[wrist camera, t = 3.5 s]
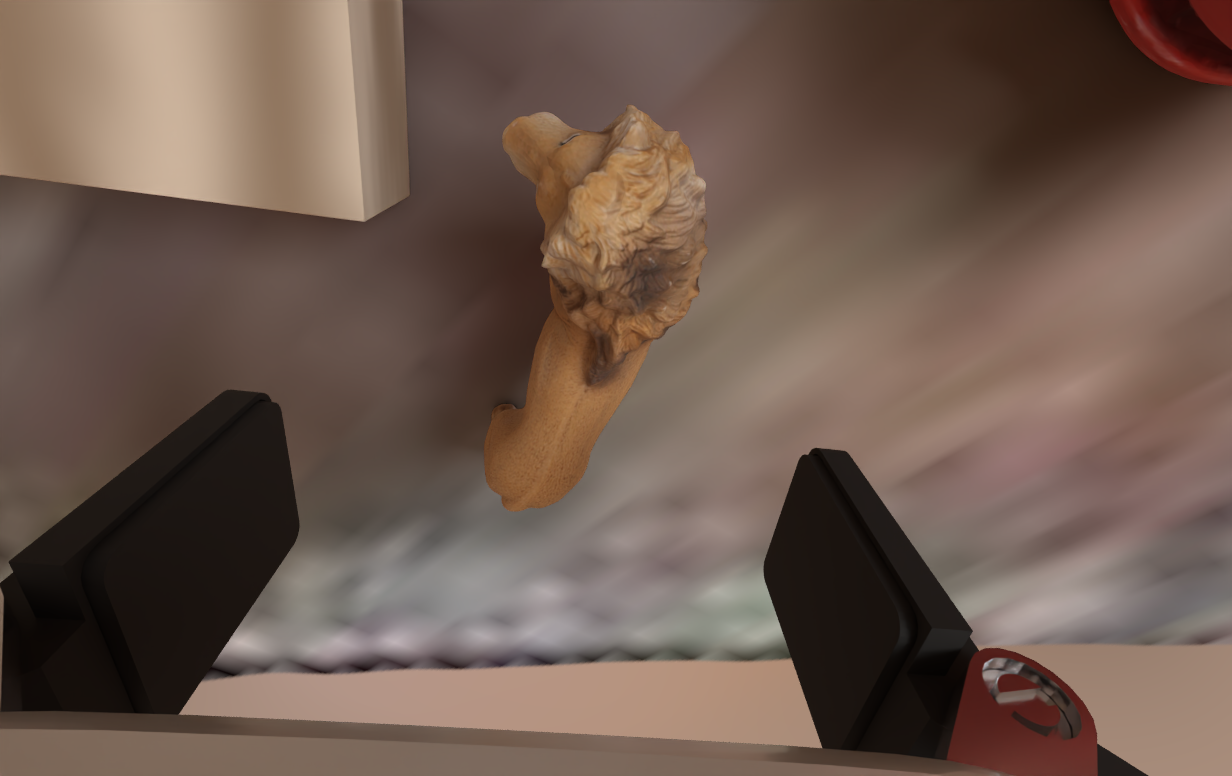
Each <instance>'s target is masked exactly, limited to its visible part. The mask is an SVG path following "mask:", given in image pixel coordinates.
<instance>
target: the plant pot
mask: <svg viewBox="0 0 1232 776" xmlns="http://www.w3.org/2000/svg"><path fill="white" fill-rule="evenodd" d="M1109 1H1110V4H1111V7H1112V9H1113V11H1114V14H1115V16H1116V18H1117V20H1118V21H1119V23H1120V24H1121V26H1122V28H1123V30H1124V31H1125V33H1126V34H1127V36H1128V37H1129V38H1130V40H1131V41H1132V42H1133V44H1134V45H1135V46H1136V47H1137V48H1138V49H1139V50H1140V51H1142V52H1143V53H1144V54H1145V55H1146V56H1147V57H1148V58H1150V59H1151V60H1152V61H1154V62H1155V63H1156V64H1158V65H1159V66H1161V67H1163V68H1165V69H1166V70H1168V71H1170V72H1173V73H1175V74H1177V75H1180V76H1182V77H1185V78H1188V79H1192V80H1196V81H1200V82H1204V83H1211V84H1219V85H1228V86H1232V0H1109Z"/></svg>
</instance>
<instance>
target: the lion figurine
mask: <svg viewBox="0 0 1232 776" xmlns="http://www.w3.org/2000/svg"><path fill="white" fill-rule="evenodd" d="M502 142H503V147H504V150H505V152H506V153H507V154H508V155H509V156H510V158H511V161H512V163H513V165H514V166H515V168H516V169H517V170H518V172H520V173H521V174H522V175H524V176H525V177H526V178H528V179H529V180H531V181H532V182H533V183H534V184H535V185H536V205H537V209H538V211H539V212H540V214H541V216H542V218H543V220H544V222H545V226H546V227H545V233H544V241H543V242H542V244H541V246H540V250H541V252H542V253H543V254H544V259H543V262H542V267H544V268H547V270H548V273H549V275H550V277H549V278H550V290H551V297H552V301H553V304H554V309H553V310H552V312H551V313H550V315H549V316H548V318H547V320H546V322H545V324H544V327H543V329H542V332H541V334H540V337H539V339H538V342H537V345H536V347H535V352H534V357H533V362H532V367H531V372H530V377H529V383H528V388H527V397H526V404H525V406H524V408H522V409H516V408H515V406H514V405H512V404H501V405H499V406H497V407H495V408H494V409H493V411H492V414H491V424H490V427H489V429H488V432H487V435H486V439H485V444H484V465H485V475H486V481H487V483H488V485H489V487H490V488H491V489H492V490H493V491H494V492H496V493H498V494H499V495H501V496H502V504H503V506H504V507H505V508H506V509H507V510H509V511H521V510H524V509H527V508H531V507H532V508H543V507H546V506H548V505H551V504H553V503H555V502H557V501H559V500H560V499H562V498H563V497H564V496H565V495H566V494H567V493H568V492H569V491H570V490H571V489H572V488H573V487H574V486H575V485H576V484H577V483H578V482H579V481H580V479H581V478H582V476H583V475H584V472H585V470H586V468H587V465H588V461H589V457H590V453H591V450H592V448H593V446H594V444H595V442H596V440H597V438H598V437H599V435H600V433H601V432H602V430H603V428H604V427H605V425H606V424H607V422H608V421H609V419H610V418H611V416H612V415H613V413H614V412H615V410H616V409H617V407H618V406H619V404H620V402H621V401H622V399H623V398H624V396H625V395H626V393H627V392H628V390H629V389H630V387H631V385H632V384H633V381H634V379H635V377H636V375H637V373H638V371H639V369H640V367H641V365H642V363H643V361H644V359H645V357H646V354H647V352H648V349H649V346H650V343H651V342H652V341H653V340H654V339H659V338H661V337H662V336H663V335H664V334H665V332H666V331H667V330H668V328H669V327H671V326H673V325H675V324H676V323H677V322H678V321H680V320H681V319H682V318H683V317H684V316H685V315H686V313H687V311H688V309H689V307H690V304H691V301H692V299H693V298H695V297H697V296H698V294H699V292H700V291H699V287H698V277H699V274H700V272H701V266H702V260H703V259H704V257H705V255H706V254H707V251H708V249H707V247H706V245H705V244H704V235H705V231H706V229H707V222H706V221H705V220H704V219H703V218H704V217H705V215H706V206H705V201H704V194H705V189H706V183H705V182H704V180H703V179H701V178H700V177H698V176H697V175H696V173H695V169H694V162H693V160H692V157H691V155H690V151H689V148H688V147H687V146H686V145H685V144H683V143H682V141H681V139H680V136H679V132H678V131H664V130H663V129H662V128H661V127H660V126H659V125H657V124H656V123H655V122H653V121H652V120H651V119H650V117H649V116H648V115H647V114H645V113H643V112H642V111H639V110H638V109H637V108H636V107H635V106H633V105H627V108H626V111H625V112H624V113H623V114H621V115H620V116H618V117H617V118H616V119H615V120H614V121H613V122H612V123H611V124H610V125H609V126H607V127H606V128H605V129H604V130H603V131H602V132H589V131H583V130H578V129H574V128H571V127H569V126H567V125H566V124H565V123H563V122H562V121H561V120H560V119H559V118H558V117H556V116H555V115H553V114H552V113H548V112H540V113H535V114H532V115H530V116H522V117H518V118H516V119H515V120H514V121H512V122H511V123H510V124H509V125H508V126H507V128H506V129H505V131H504V133H503V139H502Z"/></svg>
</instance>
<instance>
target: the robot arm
mask: <svg viewBox="0 0 1232 776" xmlns="http://www.w3.org/2000/svg"><path fill="white" fill-rule="evenodd" d="M298 532H299V517H298V511H297V505H296V499H295V492H294V486H293V480H292V474H291V467H290V461H289V455H288V449H287V443H286V436H285V430H284V424H283V418H282V412H281V408H280V406H279V404H277V403H275V402H271V399H270V397H269V396H268V395H267V394H265V393H258V392H248V391H238V390H226V391H225V392H223V393H221V394H220V395H219V396H218V397H216V398H215V399H214V400H212V401H211V402H210V403H209V404H207V405H206V406H205V407H204V408H202V409H201V410H200V411H199V412H197V413H196V414H195V415H193V416H192V417H191V418H190V419H188V420H187V421H186V422H185V423H183V424H182V425H181V426H180V427H178V428H177V429H176V430H175V431H173V432H172V433H171V434H169V435H168V436H167V437H166V438H164V439H163V440H162V441H161V442H159V443H158V444H157V445H156V446H154V447H153V448H152V449H150V450H149V451H148V452H147V453H145V454H144V455H143V456H142V457H140V458H139V459H138V460H137V461H135V462H134V463H133V464H131V465H130V466H129V467H128V468H126V469H125V470H124V471H123V472H121V473H120V474H119V475H118V476H116V477H115V478H114V479H113V480H111V481H110V482H109V483H107V484H106V485H105V486H104V487H102V488H101V489H100V490H99V491H97V492H96V493H95V494H94V495H92V496H91V497H90V498H88V499H87V500H86V501H85V502H83V503H82V504H81V505H80V506H78V507H77V508H76V509H75V510H73V511H72V512H71V513H69V514H68V515H67V516H66V517H64V518H63V519H62V520H61V521H59V522H58V523H57V524H56V525H54V526H53V527H52V528H51V529H49V530H48V531H47V532H45V533H44V534H43V535H42V536H40V537H39V538H38V539H37V540H35V541H34V542H33V543H32V544H30V545H29V546H28V547H26V548H25V549H24V550H23V551H21V552H20V553H19V554H18V555H16V556H15V557H14V558H13V559H11V560H10V561H9V564H10V566H11V568H12V570H13V573H12V574H11V575H9V576H8V577H7V578H6V579H5V580H3V581H2V582H1V583H0V776H1148V775H1146V774H1145V773H1143V772H1142V771H1140V770H1138V769H1137V768H1135V767H1134V766H1132V765H1130V764H1129V763H1127V762H1126V761H1124V760H1123V759H1121V758H1119V757H1118V756H1116V755H1115V754H1113V753H1111V752H1110V751H1108V750H1107V749H1105V748H1103V747H1102V746H1100V745H1099V744H1097V732H1096V728H1095V724H1094V720H1093V718H1092V716H1091V714H1090V713H1089V711H1088V709H1087V707H1086V706H1085V704H1084V703H1083V701H1082V700H1081V699H1080V698H1079V697H1078V696H1077V695H1076V693H1075V692H1074V691H1073V690H1072V689H1071V688H1070V687H1069V686H1068V685H1067V684H1066V683H1065V682H1063V681H1062V680H1061V679H1060V678H1059V677H1058V676H1056V675H1055V674H1054V673H1053V672H1051V671H1050V670H1048V669H1047V668H1045V667H1043V666H1042V665H1040V664H1039V663H1037V662H1035V661H1034V660H1032V659H1029V658H1027V657H1025V656H1023V655H1021V654H1018V653H1016V652H1012V651H1008V650H1004V649H1000V648H985V649H983V650H981V651H979V650H978V649H977V647H976V646H975V644H974V643H973V641H972V640H971V638H970V635H971V633H972V632H973V631H972V629H971V628H970V626H969V625H968V623H967V622H966V621H965V619H964V618H963V616H962V615H961V613H960V612H959V611H958V609H957V608H956V606H955V605H954V603H953V602H952V601H951V599H950V598H949V596H948V595H947V593H946V592H945V591H944V589H943V588H942V586H941V585H940V583H939V582H938V581H937V579H936V578H935V576H934V575H933V573H932V572H931V571H930V569H929V568H928V566H927V565H926V563H925V562H924V561H923V559H922V558H921V556H920V555H919V553H918V552H917V551H916V549H915V548H914V546H913V545H912V543H911V542H910V541H909V539H908V538H907V536H906V535H905V533H904V532H903V531H902V529H901V528H900V526H899V525H898V523H897V522H896V521H895V519H894V518H893V516H892V515H891V513H890V512H889V511H888V509H887V508H886V506H885V505H884V503H883V502H882V501H881V499H880V498H879V496H878V495H877V493H876V492H875V491H874V489H873V488H872V486H871V485H870V483H869V482H868V481H867V479H866V478H865V476H864V475H863V473H862V472H861V471H860V469H859V468H858V466H857V465H856V463H855V462H854V461H853V459H852V458H851V456H850V455H849V454H848V453H847V452H846V451H841V450H831V449H821V448H814V449H812V450H811V451H810V453H809V455H802V456H801V457H800V459H799V461H798V464H797V467H796V470H795V473H794V476H793V479H792V482H791V485H790V488H789V491H788V493H787V496H786V499H785V502H784V505H783V508H782V511H781V514H780V517H779V520H778V523H777V526H776V529H775V531H774V534H773V537H772V540H771V543H770V546H769V549H768V552H767V555H766V558H765V561H764V579H765V582H766V585H767V588H768V591H769V594H770V597H771V600H772V603H773V606H774V608H775V611H776V614H777V617H778V620H779V623H780V626H781V629H782V632H783V635H784V638H785V640H786V643H787V646H788V649H789V652H790V655H791V658H792V661H793V663H794V667H795V670H796V672H797V675H798V678H799V681H800V684H801V687H802V690H803V693H804V695H805V699H806V701H807V704H808V707H809V710H810V713H811V716H812V719H813V722H814V725H815V728H816V731H817V733H818V736H819V739H820V742H821V745H822V748H809V747H797V746H782V745H764V744H763V745H762V744H746V743H730V742H728V743H727V742H712V741H694V740H677V739H660V738H641V737H624V736H607V735H587V734H569V733H550V732H531V731H511V730H493V729H473V728H453V727H434V726H433V727H432V726H414V725H413V726H412V725H394V724H373V723H352V722H330V721H329V722H328V721H308V720H307V721H306V720H286V719H264V718H242V717H221V716H198V715H178V714H179V713H180V712H181V710H182V709H183V707H184V706H185V704H186V703H187V701H188V700H189V698H190V697H191V695H192V694H193V692H194V691H195V690H196V688H197V686H198V685H199V684H200V682H201V681H202V679H203V678H204V676H205V675H206V673H207V672H208V670H209V669H210V667H211V666H212V664H213V663H214V662H215V660H216V659H217V657H218V656H219V654H220V653H221V651H222V650H223V648H224V647H225V645H226V644H227V642H228V641H229V639H230V638H231V636H232V635H233V633H234V632H235V631H236V629H237V628H238V626H239V625H240V623H241V622H242V620H243V619H244V617H245V616H246V614H247V613H248V611H249V610H250V608H251V607H252V605H253V604H254V603H255V601H256V600H257V598H258V597H259V595H260V594H261V592H262V591H263V589H264V588H265V586H266V585H267V583H268V582H269V580H270V579H271V577H272V576H273V574H274V573H275V572H276V570H277V569H278V567H279V566H280V564H281V563H282V561H283V560H284V558H285V557H286V555H287V554H288V552H289V551H290V549H291V548H292V546H293V545H294V543H295V541H296V539H297V536H298Z"/></svg>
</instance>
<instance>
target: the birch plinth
mask: <svg viewBox="0 0 1232 776" xmlns="http://www.w3.org/2000/svg"><path fill="white" fill-rule="evenodd" d="M0 175H6V176H14V177H22V178H30V179H37V180H45V181H53V182H61V183H68V184H76V185H84V186H92V187H99V188H107V189H115V190H123V191H130V192H138V193H146V194H154V195H161V196H169V197H177V198H185V199H192V200H200V201H208V202H216V203H223V204H231V205H239V206H247V207H254V208H262V209H270V210H278V211H285V212H293V213H301V214H309V215H316V216H324V217H332V218H340V219H347V220H355V221H363V222H365V221H367V220H368V219H370V218H372V217H374V216H375V215H377V214H379V213H381V212H382V211H384V210H386V209H387V208H389V207H391V206H393V205H394V204H396V203H398V202H400V201H401V200H403V199H405V198H406V197H408V196H410V183H409V158H408V132H407V107H406V81H405V56H404V30H403V5H402V0H0Z"/></svg>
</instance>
